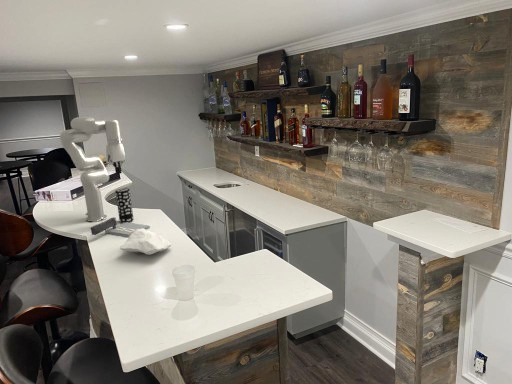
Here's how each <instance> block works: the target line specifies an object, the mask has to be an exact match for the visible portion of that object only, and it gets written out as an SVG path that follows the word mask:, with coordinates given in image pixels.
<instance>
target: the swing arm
mask: <svg viewBox="0 0 512 384" xmlns="http://www.w3.org/2000/svg"><path fill="white" fill-rule="evenodd" d="M115 225H116V226H118V224H117V218H116V217H110V218H107V220H106V219H105V221H104V220H103V221H102V222H100V223H98V224H95V225H93V226H92V227H90V233H91V235H92V236H96V235H98V234H101V233H102V232H105V230H107V229H110V228H112V227H113V226H115Z"/></svg>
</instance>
